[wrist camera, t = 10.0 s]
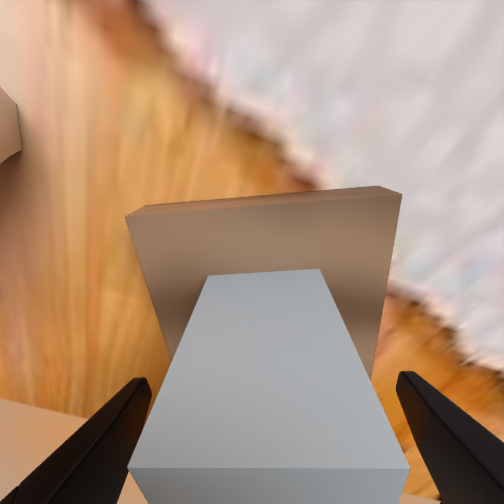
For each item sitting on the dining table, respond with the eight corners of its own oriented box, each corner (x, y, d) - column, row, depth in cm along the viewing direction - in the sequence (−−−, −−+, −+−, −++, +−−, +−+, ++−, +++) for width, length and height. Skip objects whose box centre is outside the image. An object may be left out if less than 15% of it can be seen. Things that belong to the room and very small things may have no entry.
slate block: (317, 351, 12) (374, 571, 6) (224, 355, 13) (184, 564, 6) (319, 268, 10) (410, 467, 4) (208, 275, 11) (126, 467, 4)
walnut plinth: (356, 359, 15) (369, 388, 13) (190, 364, 16) (181, 392, 14) (378, 185, 11) (402, 194, 9) (146, 205, 12) (124, 216, 10)
